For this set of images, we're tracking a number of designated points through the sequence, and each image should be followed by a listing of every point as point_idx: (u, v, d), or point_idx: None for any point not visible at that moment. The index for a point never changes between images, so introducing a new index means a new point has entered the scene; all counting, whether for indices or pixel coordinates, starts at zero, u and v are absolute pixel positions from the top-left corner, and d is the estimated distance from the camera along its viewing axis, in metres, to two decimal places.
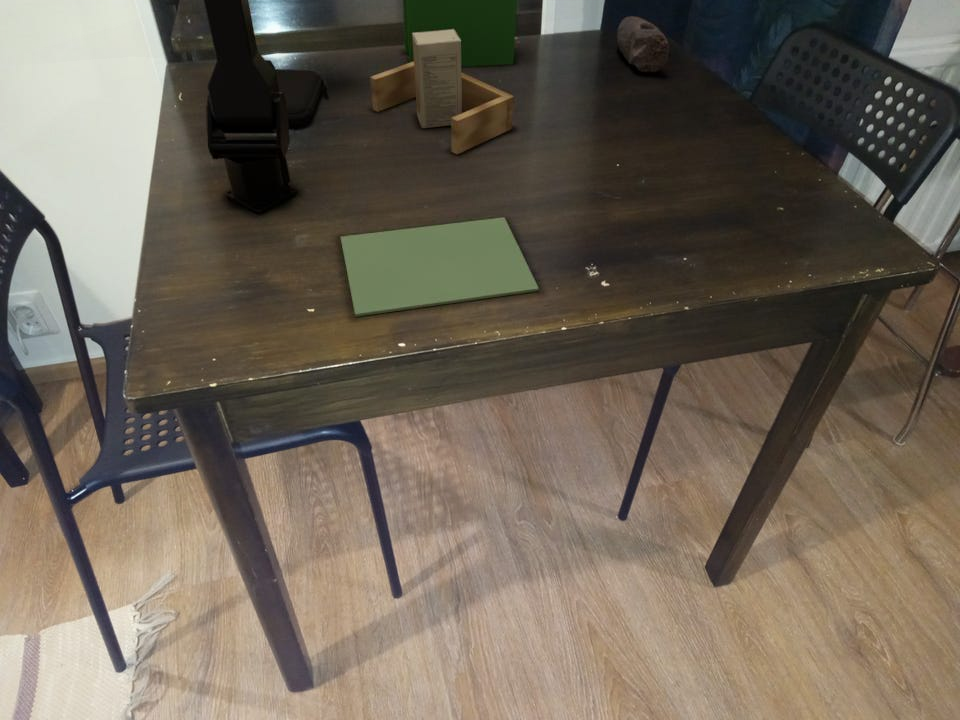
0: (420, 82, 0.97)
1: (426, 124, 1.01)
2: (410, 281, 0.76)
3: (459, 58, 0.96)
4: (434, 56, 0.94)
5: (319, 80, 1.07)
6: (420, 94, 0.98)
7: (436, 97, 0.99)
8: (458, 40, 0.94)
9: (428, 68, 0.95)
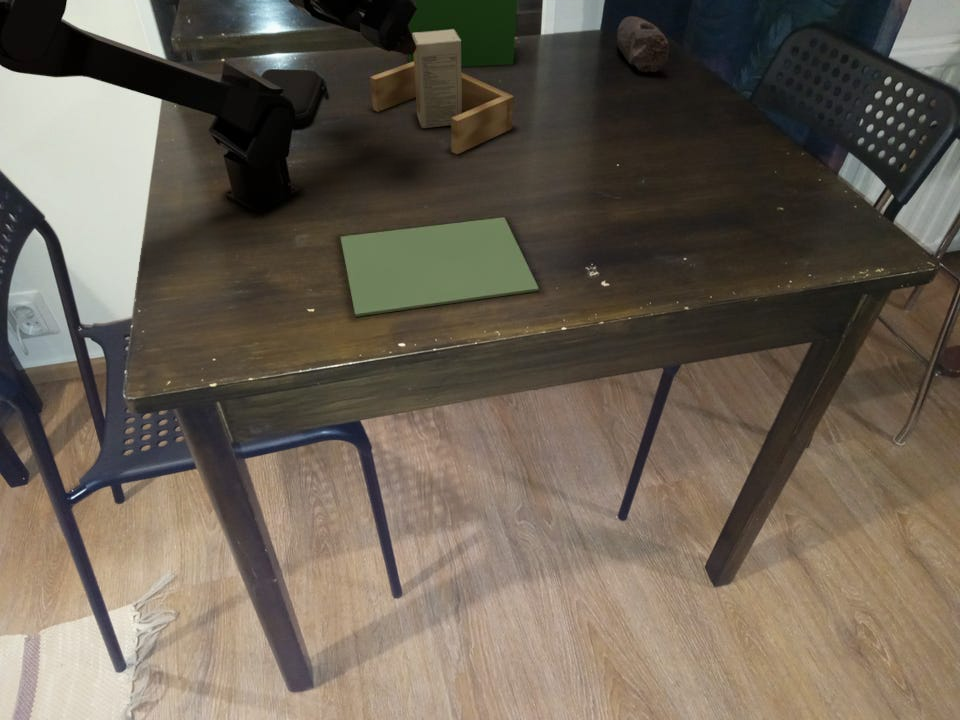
0: (420, 82, 0.97)
1: (426, 124, 1.01)
2: (410, 281, 0.76)
3: (459, 58, 0.96)
4: (434, 55, 0.94)
5: (319, 80, 1.07)
6: (420, 94, 0.98)
7: (436, 97, 0.99)
8: (458, 40, 0.94)
9: (428, 68, 0.95)
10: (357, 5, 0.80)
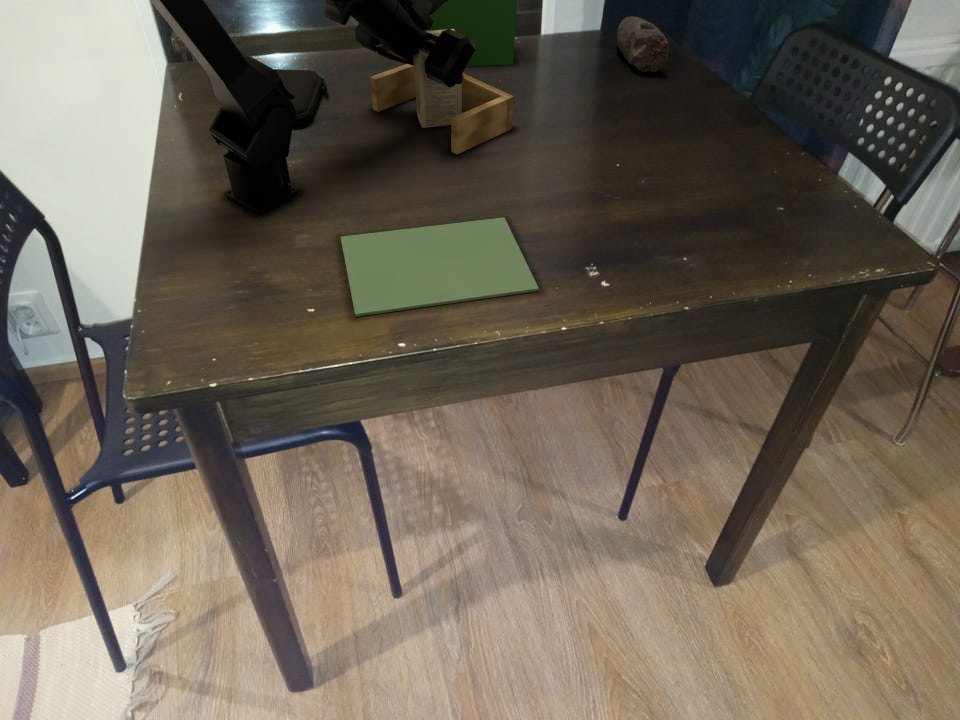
0: (420, 82, 0.97)
1: (426, 124, 1.01)
2: (410, 281, 0.76)
3: None
4: None
5: (319, 80, 1.07)
6: (420, 94, 0.98)
7: (436, 97, 0.99)
8: None
9: None
10: (421, 46, 0.90)
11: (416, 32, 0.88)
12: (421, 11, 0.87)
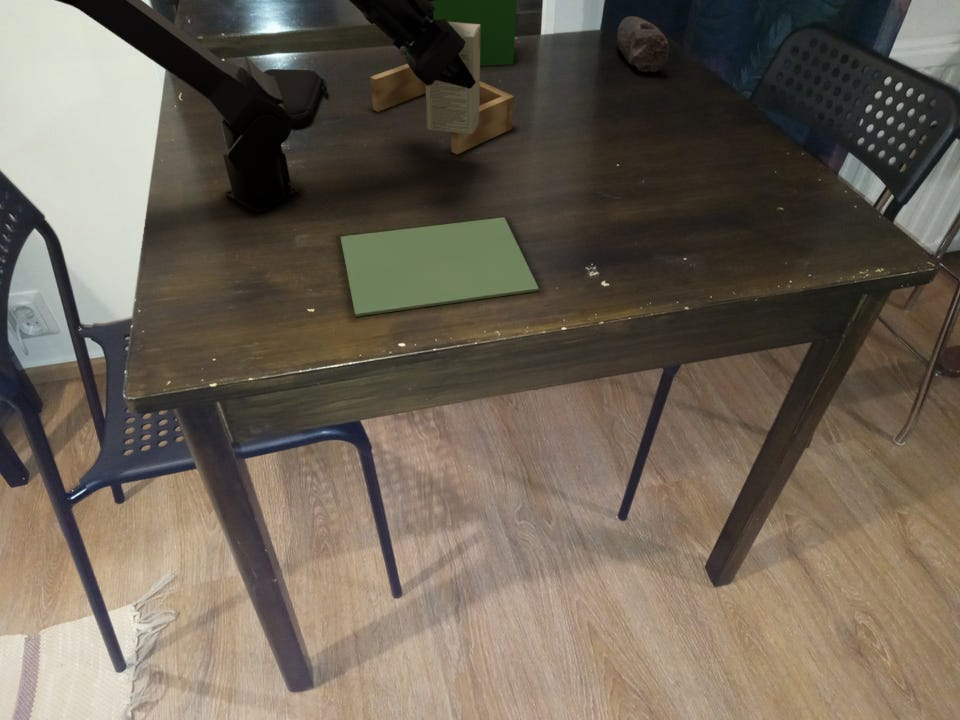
0: None
1: (431, 125, 0.89)
2: (410, 281, 0.76)
3: (471, 57, 0.82)
4: None
5: (319, 80, 1.07)
6: (426, 90, 0.86)
7: (443, 98, 0.86)
8: (471, 36, 0.80)
9: None
10: (415, 33, 0.78)
11: (409, 16, 0.76)
12: None
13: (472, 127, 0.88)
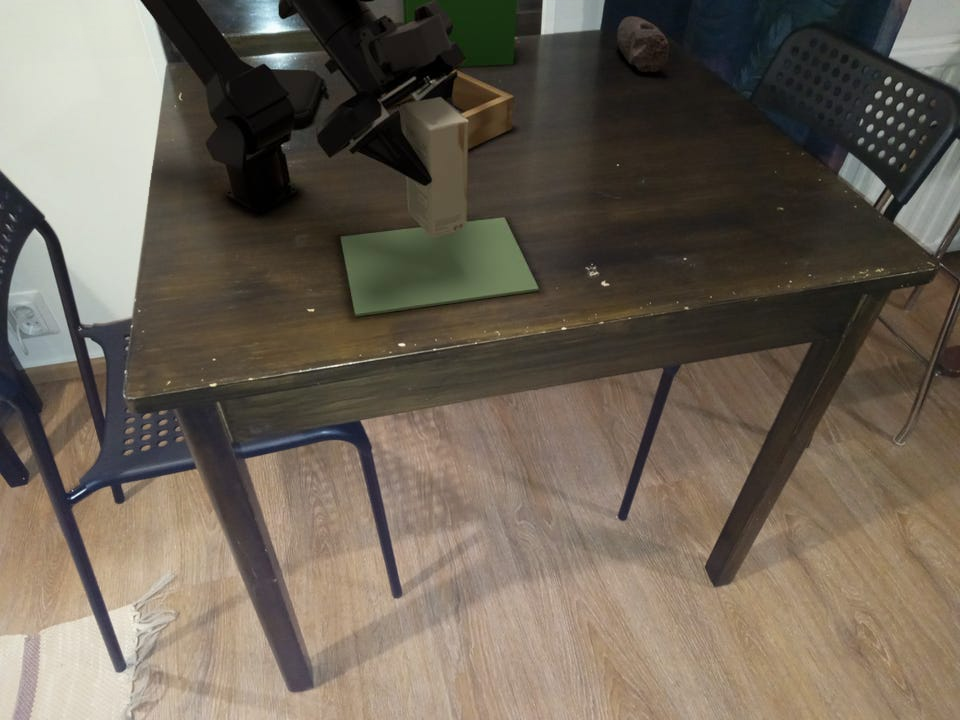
0: None
1: (409, 208, 0.75)
2: (410, 281, 0.76)
3: (428, 152, 0.66)
4: (412, 130, 0.68)
5: (319, 80, 1.07)
6: None
7: (414, 184, 0.72)
8: (429, 128, 0.64)
9: (409, 142, 0.69)
10: None
11: (362, 79, 0.65)
12: (369, 57, 0.63)
13: (432, 230, 0.72)
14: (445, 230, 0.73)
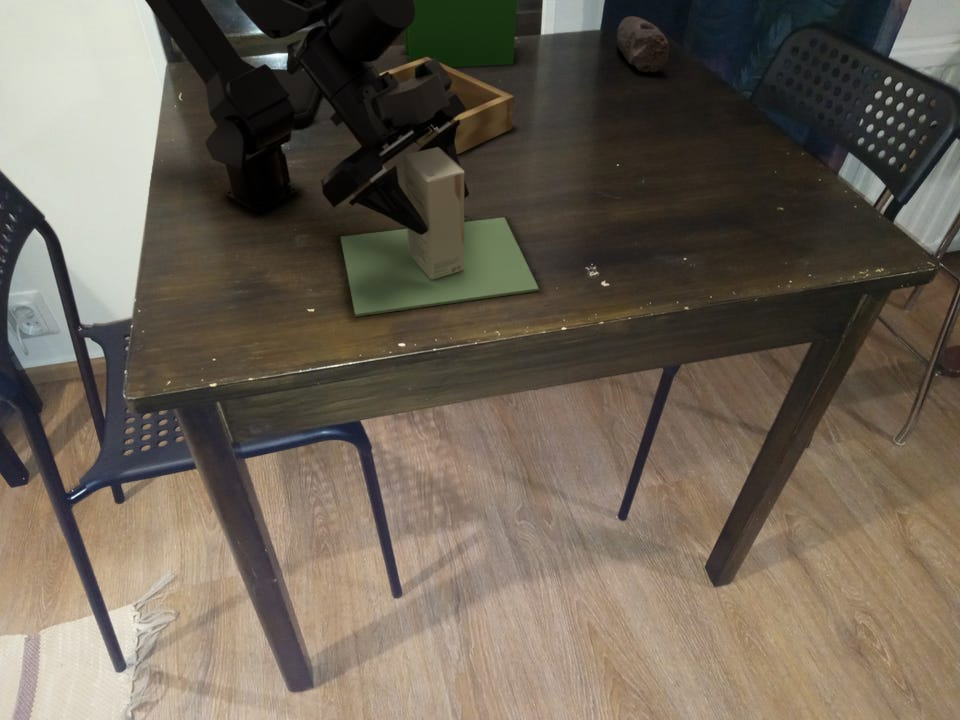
0: None
1: (409, 250, 0.79)
2: (410, 281, 0.76)
3: (427, 201, 0.69)
4: (411, 180, 0.71)
5: None
6: None
7: None
8: (427, 180, 0.68)
9: (408, 190, 0.73)
10: None
11: (365, 132, 0.68)
12: (371, 112, 0.66)
13: (431, 273, 0.75)
14: (444, 272, 0.76)
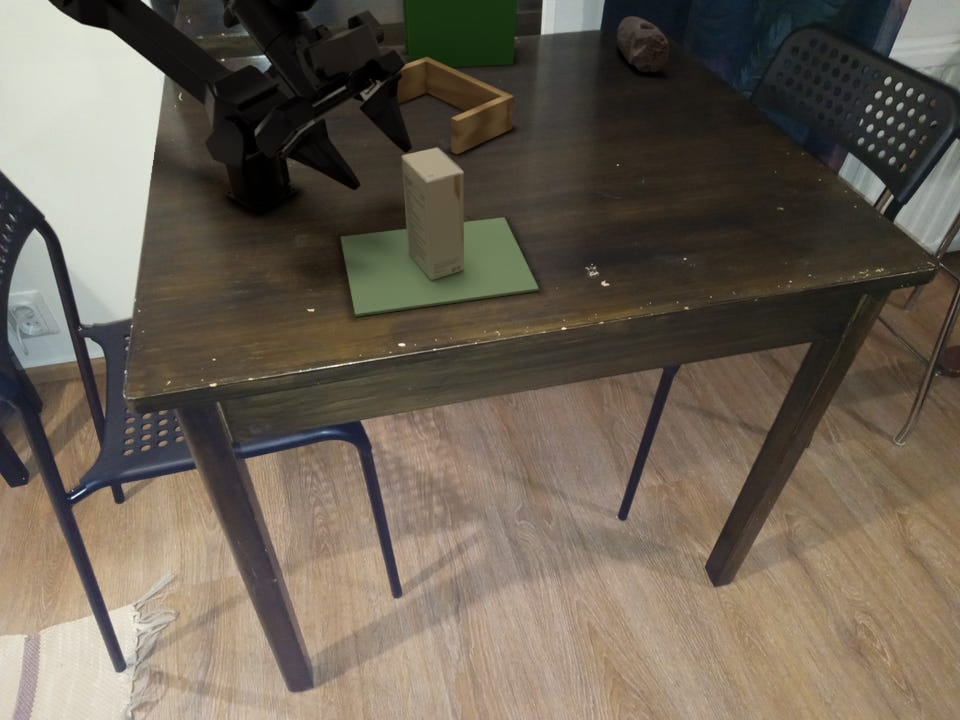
0: None
1: (409, 250, 0.79)
2: (410, 281, 0.76)
3: (426, 202, 0.69)
4: (410, 180, 0.71)
5: None
6: (406, 214, 0.76)
7: (414, 229, 0.75)
8: (426, 180, 0.68)
9: (408, 191, 0.73)
10: None
11: (300, 84, 0.69)
12: (304, 63, 0.67)
13: (431, 273, 0.75)
14: (444, 272, 0.76)
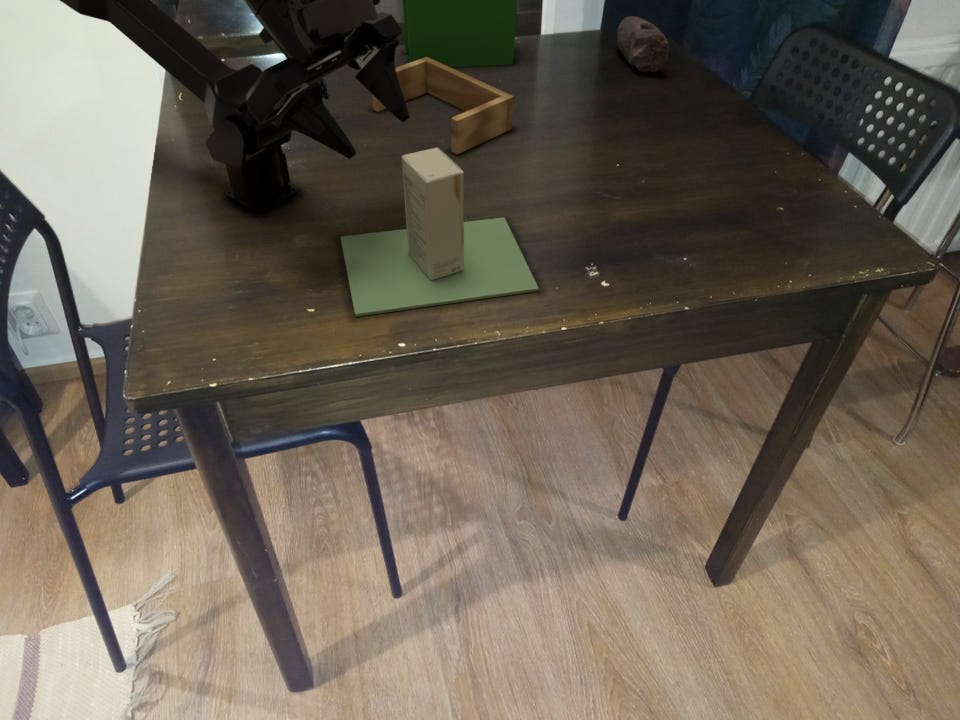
0: None
1: (409, 250, 0.79)
2: (410, 281, 0.76)
3: (426, 202, 0.69)
4: (410, 180, 0.71)
5: (319, 80, 1.07)
6: (406, 214, 0.76)
7: (414, 229, 0.75)
8: (426, 180, 0.68)
9: (408, 191, 0.73)
10: None
11: (293, 47, 0.67)
12: (297, 24, 0.65)
13: (431, 273, 0.75)
14: (444, 272, 0.76)
